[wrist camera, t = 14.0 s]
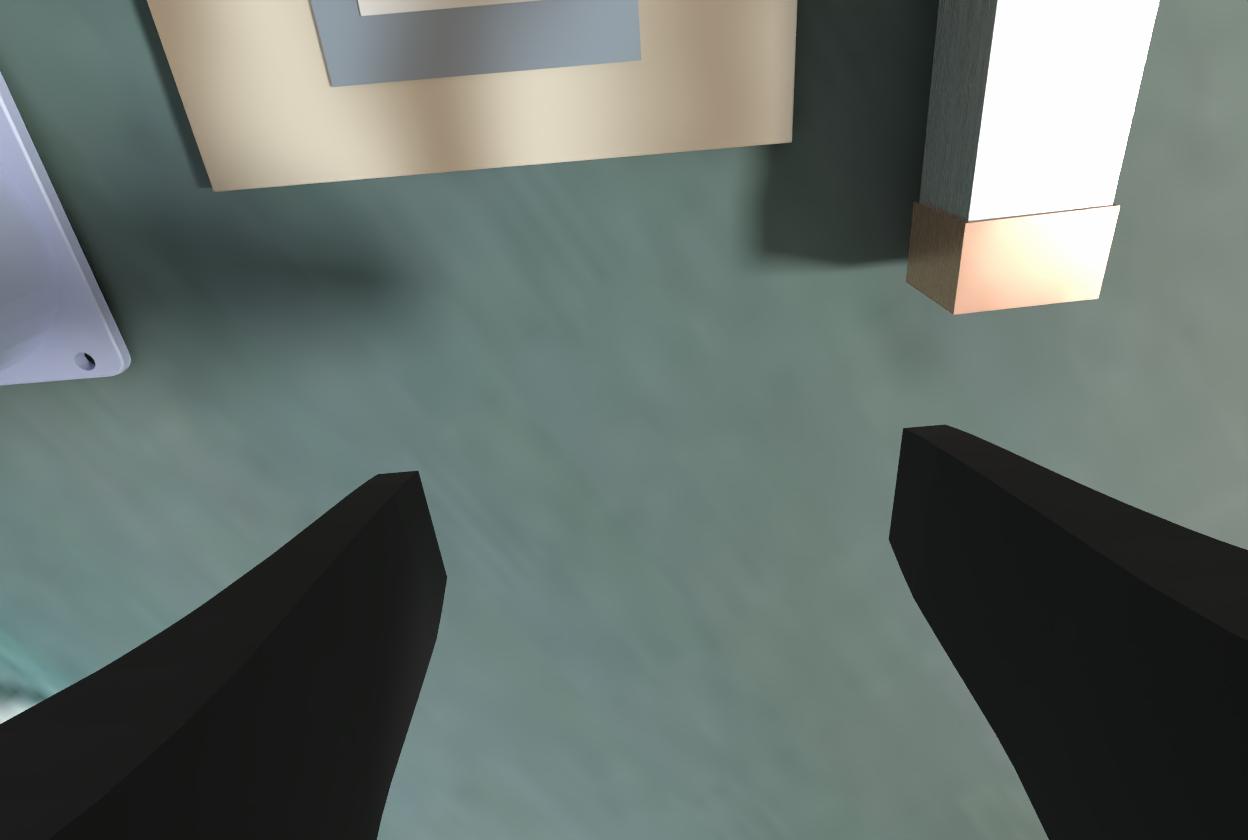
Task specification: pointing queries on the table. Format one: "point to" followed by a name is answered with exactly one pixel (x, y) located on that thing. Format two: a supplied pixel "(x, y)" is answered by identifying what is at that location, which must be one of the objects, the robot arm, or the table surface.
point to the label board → (471, 82)
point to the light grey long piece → (1025, 149)
